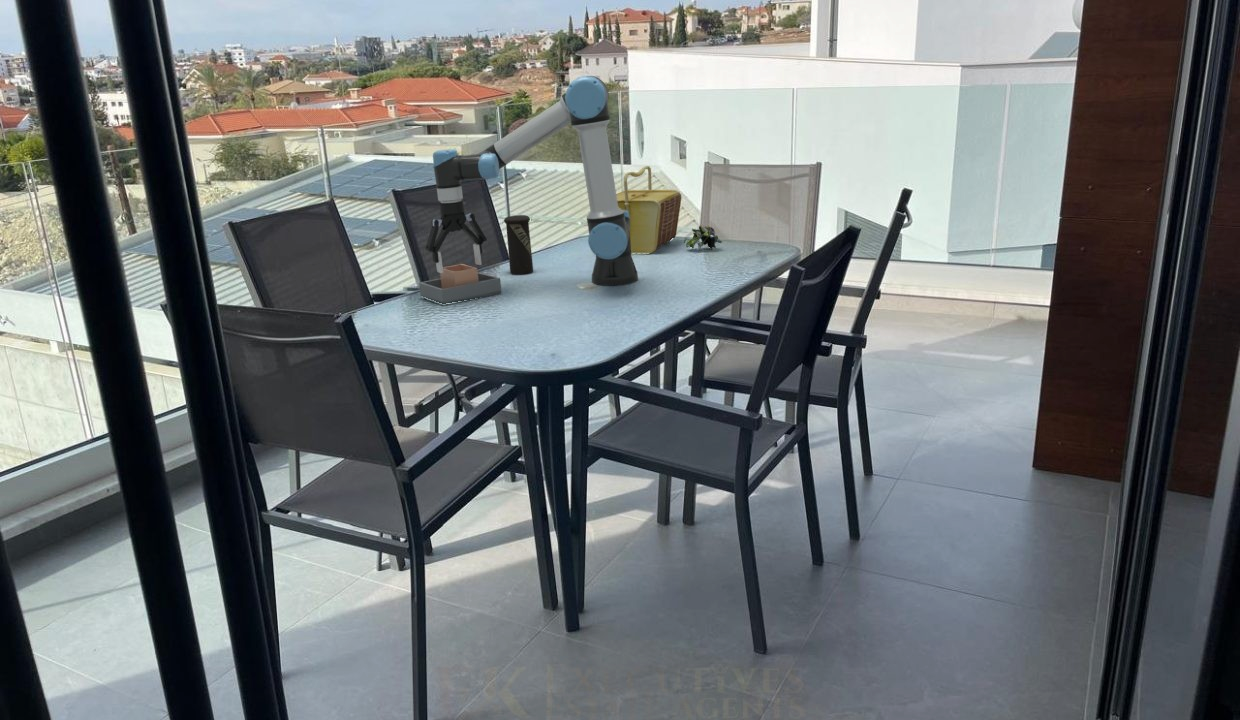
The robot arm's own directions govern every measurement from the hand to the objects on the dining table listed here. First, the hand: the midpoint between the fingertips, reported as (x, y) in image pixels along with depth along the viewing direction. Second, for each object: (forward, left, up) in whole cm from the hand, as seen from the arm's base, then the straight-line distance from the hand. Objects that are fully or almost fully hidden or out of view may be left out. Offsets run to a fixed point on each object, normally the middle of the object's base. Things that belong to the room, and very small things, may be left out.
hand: (459, 268), depth 288 cm
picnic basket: (+16, -87, -9) cm, 89 cm away
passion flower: (-8, -97, -9) cm, 97 cm away
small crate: (0, 0, -8) cm, 8 cm away
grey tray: (0, 0, -9) cm, 9 cm away
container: (+15, -32, -9) cm, 36 cm away
